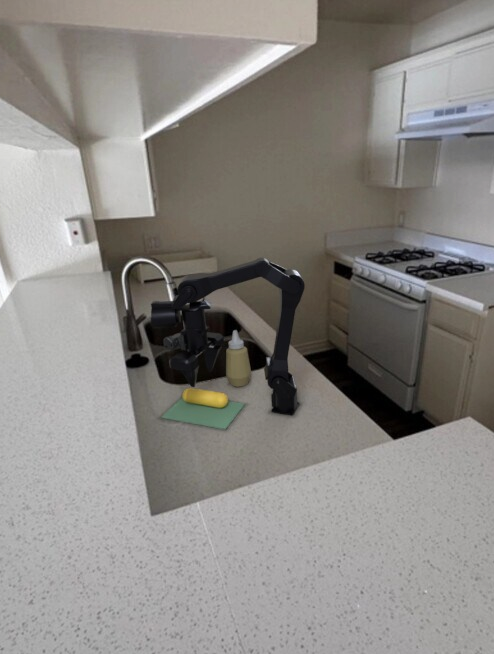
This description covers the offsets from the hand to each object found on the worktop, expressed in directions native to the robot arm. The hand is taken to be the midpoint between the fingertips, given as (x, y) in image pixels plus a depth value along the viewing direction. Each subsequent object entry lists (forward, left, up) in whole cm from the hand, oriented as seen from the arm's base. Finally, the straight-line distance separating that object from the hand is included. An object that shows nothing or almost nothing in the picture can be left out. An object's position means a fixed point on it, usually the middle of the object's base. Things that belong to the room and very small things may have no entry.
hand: (201, 378), depth 114 cm
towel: (+1, -1, -12) cm, 12 cm away
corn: (+2, -4, -11) cm, 12 cm away
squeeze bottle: (-1, -20, -12) cm, 23 cm away
